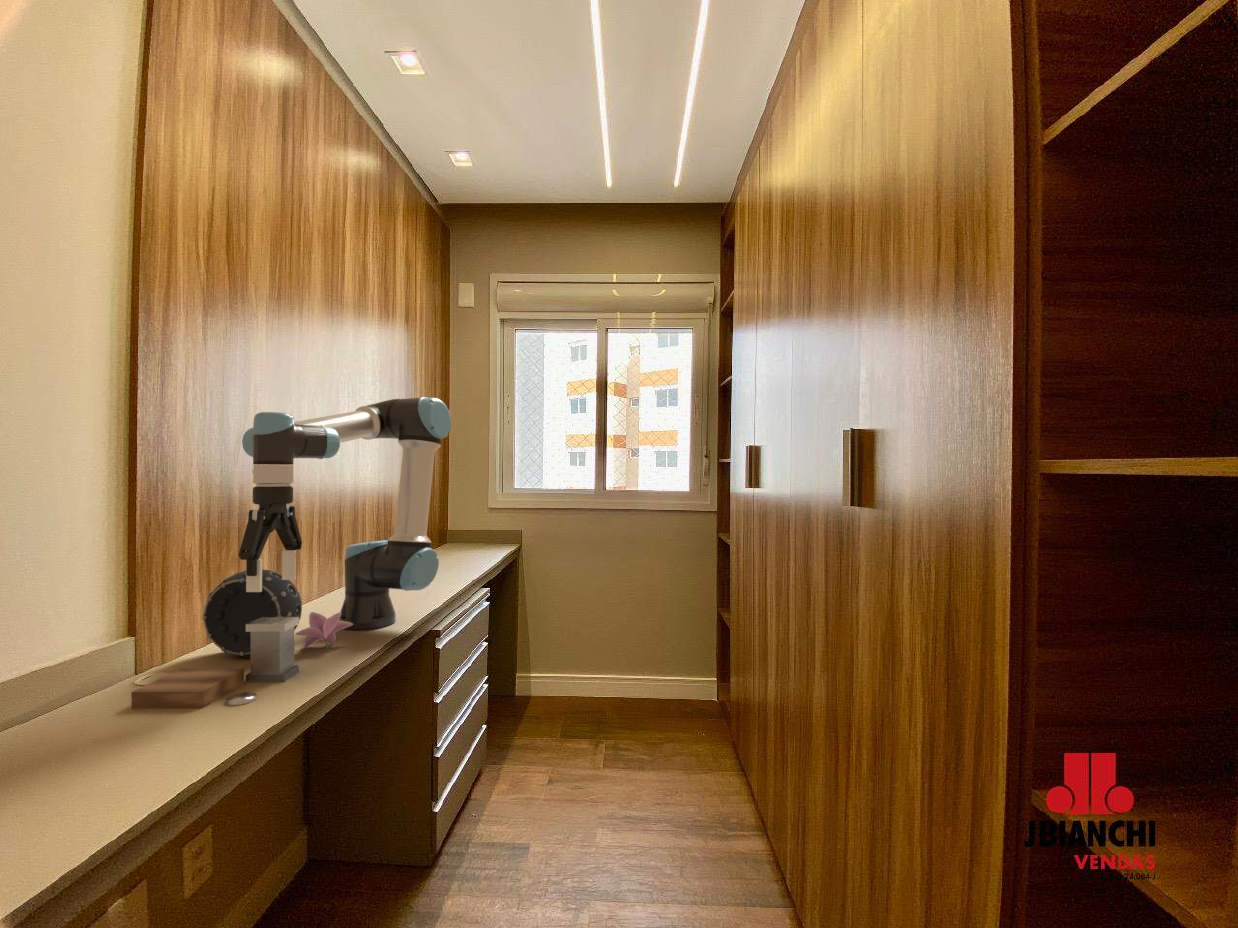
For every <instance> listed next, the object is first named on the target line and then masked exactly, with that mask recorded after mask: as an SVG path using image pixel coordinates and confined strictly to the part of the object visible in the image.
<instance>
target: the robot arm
mask: <svg viewBox="0 0 1238 928" xmlns="http://www.w3.org/2000/svg"><path fill="white" fill-rule="evenodd" d="M452 422H453V421H452V416H451V412H450V411H449V408H448V407H447V405H446V404H445V402H443V401H442V400H441V399H439V398H437V397H426V396H423V397H416V398H415V397H411V398H392V399H387V400H383V401H380V402H376V403H371V404H367V405H361V406H359V407H357V408H356V409H355V410H354V411H350V412H349V411H348V412H345V413H337V414H332V415H326V416H319V417H315V418H309V419H303V420H299V421H298V420H297V421H295V418H294V415H293V414H292V413H289V412H288V413H287V412H279V411H278V412H274V411H260V412H258V413H256V414H255V415H254V417H253V423H252V424H253V425H252V426H253V427H251V428H248V429H247V430H246V431H245V432H244V434H243V435H242V438H241V443H242V449H243V450H244V452H245V453H246V455H248V456H249V457H252V465H253V467H252V471H251V473H252V483H253V484H255V485H256V486H254V487H252V503H253V504H254V505H258V506H259V507H258V509H250V510H249V511H248V518H247V524H246V527H245V532H244V534H243V538H242V541H241V545H240V548H239V551H238V557H239V559H240V560H241V561H245V560H246V562H245V563H246V569H245V571H246V592H262V569H263V558H260V557H261V555H262V552H263V550H264V547H265V545H266V543H267V541H268V538H269V536H270V534H271V533H273V532H274V531H276V534H277V536H278V538H279V540H280V542H281V544H282V546H283V548H284V549H283V550H282V551H281V561H282V562H281V575H282V580H290V581H295V580H297V550H298V551H299V550H301V549H302V545H303V541H302V537H301V533H300V528H299V525H298V521H297V517H296V507H295V506H293V505H291V506H290V504H291V503H293V502H294V487H293V486H292V485H291V484H293V483H294V459H317V460H323V459H330V458H333V457H334V456H336V455H337V453H338V451H339V450H340V446H341V443H344V442H349V441H355V440H358V439H363V440H366V441H367V440H368V441H370V440H375V439H395V440H396V439H397V443H398V444H399V445H400V446H401V448H402V455H401V457H402V458H401V467H400V475H399V485H398V494H397V495H398V496H397V503H396V516H395V525H394V532H393V535H391V536H390V537H389V538H388V539H386V540H385V539H384V540H383V539H382V540H376V541H367V542H361V543H360V542H359V543H354V544H350V545H348V546H347V547H346V549H345V555H344V561H343V562H344V599H343V603H342V605H341V608H340V611H339V613H340V612H341V616H340V619H339V621H346V622H351V623H353V625H352V626H350V627H347V628H344V629H343V630H352V631H354V630H359V631H360V630H371V629H373V630H374V629H377V628H382V627H383V628H384V627H387V626H390V625H392V624H394V623H395V622H396V620H397V619H396V618H397V617H396V615H397V614H396V611H395V608H394V605H393V602H392V599H391V596H390V590H391V589H393V590H402V591H405V592H409V591H422V590H424V589H427V588H428V587H429V586H430V585H431V583H432V582H434V580H435V578H436V576H437V573H438V570H439V563H440V560H439V556H438V554H437V551H435V550H434V549H433V548H432V541H431V540H430V538H429V537H428V535H427V533H428V526H429V525H428V524H429V516H430V515H429V514H430V504H431V493H432V484H433V483H432V482H433V475H434V463H435V460H434V459H435V452H436V451H437V450H439V449H440V448H441V445H442V439H445V438H447V437H448V436H449V434H450V433H451V431H452ZM288 504H289V505H288Z"/></svg>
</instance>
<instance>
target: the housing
mask: <svg viewBox="0 0 1238 928" xmlns="http://www.w3.org/2000/svg"><path fill="white" fill-rule="evenodd" d="M296 625H298V626H299V625H300V621H299V617H261V618H259V619H257V620H254V621H252V622H250V623H248V624H246V632H251V657H249V658H250V659H249V660H250V667H249V669H250V670H249V671H250V672H248V673H247V674H246V675H245V683H286V680H287V681H288V680H289V678H290V679H291V678H292V677H294V676H296V675H297V674H299V673H300V665H297V664H295V631H294V626H296Z"/></svg>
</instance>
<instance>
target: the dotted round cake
mask: <svg viewBox="0 0 1238 928" xmlns="http://www.w3.org/2000/svg"><path fill="white" fill-rule="evenodd" d="M207 596H208V597H207V601H206V603H205V606H204V610H203V614H202V617H201V619H202V620H203V626H204V629H205V631H206V633H207V637H206V638H209V639H210V640H211V642H212V644H214V645H215V646H216V647H218V649H220V650H221V652H223V653H224V654H225V653H226V654H232V655H234V656H241V657H243V658H245V659H246V658H251V632H246V624H248V623H250V622H252V621H254V620H257V619H259V618H261V617H299V622H300V620H301V618H302V612H303V607H302V606H303V603H302V598H301V595H300V592H299V591H298V588H297V587H296V586H295V584H294V583H293V581H292V580H282V573H279V572H276V571H273V570H270V569H265V568H262V592H246V570H243V571H241V572H239V571H238V572H237V573H234V574H233V575H231V576H227V577H225V578H224V579H223V580H222V581H221V582H220V583H219V584H218V585H217V586H216V587H215V588H214V589H213V590H212V591H211V592H209V593H208V595H207ZM298 626H299V624H298V625H296V626H294V632H295V631H296V629H297V627H298Z"/></svg>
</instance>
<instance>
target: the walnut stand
mask: <svg viewBox="0 0 1238 928" xmlns="http://www.w3.org/2000/svg"><path fill="white" fill-rule="evenodd" d="M242 683H243V684H244V683H245V668H243V667H241V668H238V667H237V668H235V667H234V668H229V667H228V668H227V667H226V668H225V667H224V668H221V667H220V668H179V669H177V670H175V671H173V672H171V673H168V674H166V675H164V676H163V677H160V678H158V679H155V680H154V681H152V682H149V683H148V684H146V685H143V686H141V687H139V688H137V689H136V690H133V691H131V700H130V701H131V707H130V708H131V709H190V708H191V709H203V708H206V707H207V706H208V705H210V704H211V703H214V702H215V701H217V700H218V699H220V698H221V697H223V696H225V695H227V694H228V693H229V692H232V691H233V690H234V689H237V688H238V687H239V685H240V686H242V685H243V684H242Z"/></svg>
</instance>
